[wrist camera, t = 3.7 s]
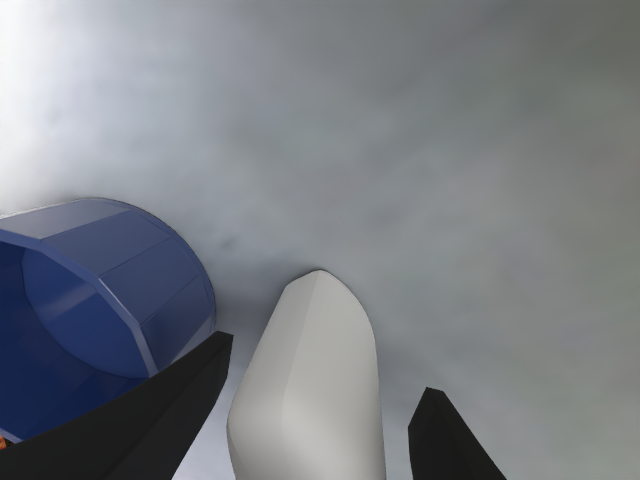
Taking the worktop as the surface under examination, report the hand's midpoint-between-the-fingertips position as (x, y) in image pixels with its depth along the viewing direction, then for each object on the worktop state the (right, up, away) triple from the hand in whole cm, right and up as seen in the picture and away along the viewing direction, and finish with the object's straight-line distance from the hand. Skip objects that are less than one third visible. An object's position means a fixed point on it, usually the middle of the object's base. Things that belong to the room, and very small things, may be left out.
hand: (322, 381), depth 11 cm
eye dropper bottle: (+1, +1, +4) cm, 4 cm away
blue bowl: (-11, +2, +5) cm, 12 cm away
